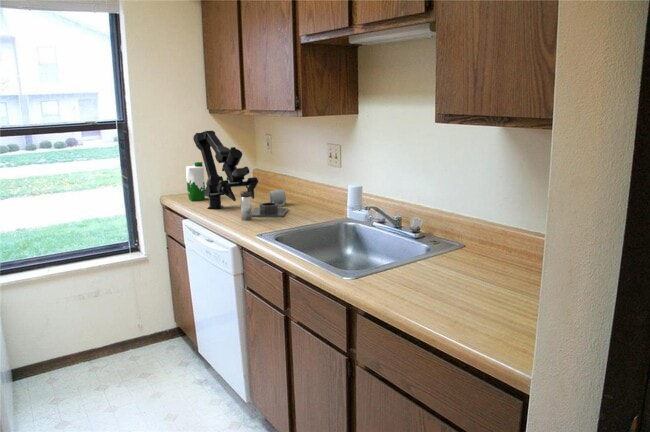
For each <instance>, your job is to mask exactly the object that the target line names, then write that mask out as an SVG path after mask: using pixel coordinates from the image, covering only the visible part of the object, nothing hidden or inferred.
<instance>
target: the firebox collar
mask: <svg viewBox="0 0 650 432" xmlns="http://www.w3.org/2000/svg"><path fill="white" fill-rule="evenodd" d="M288 211H289V208H288V207H278V204H277V203H268V202H262V203H260V204H259V207H255V209H253V210H251V217H252V218H284V217H285V215H287V213H288Z"/></svg>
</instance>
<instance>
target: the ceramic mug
mask: <svg viewBox="0 0 650 432" xmlns="http://www.w3.org/2000/svg"><path fill="white" fill-rule="evenodd" d="M266 195H267V198H266V199H267V203H277V204H278V208H284V206H285V204H286V202H287V198H286V197H287V195H286V192H285V190H284V188H283V189H282V188H281V189H277V190H276V189H275V190H271V191H268V192H267V194H266Z"/></svg>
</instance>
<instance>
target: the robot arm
mask: <svg viewBox="0 0 650 432" xmlns="http://www.w3.org/2000/svg"><path fill="white" fill-rule="evenodd" d="M192 140H193V142H194V144H195V146H196V148H197V149H198V150H200V152H201V157H202V159H203V163H204V167H205V168H204V169H205V170H206V171H205V172H206V175H207V180H206V186H205V191H204V193H205V197H208V204H209V206H208V207H207V209H209V210H210V209H211V210H212V209H213V210H218V209H222V208H223V207H224V205H222V197H221V196H226V197H227V198H229V199H230V200H232V201H233V202H236V201H237V199H236V197H235V194H234V193H233V190H232V188H241V187H246V191H250V193H251V199H252V200H254V199H255V189H256V187H257V185H258V183H259V179H258V177H256V176H253V177H251V176H250V177H248V178H247V180H245V176H247V175H249V173H250V168H249V166H244V167H239V168H237V167H238V165H239V164H240V161H241V160H242V157H243V152H242V151H241V150H240V149H239V148H236V147H234V146H232V147H230V148H229V147H226V146H224V145H223V143H222V142H221V140H220V139H219V137H218V136H217V135H216V132H215V131H214V130H204V131H202V132H195V134H194V135H193V139H192ZM211 148H212V149H211ZM212 150H213V151H214V153H215V155H214V157H215V160H216V161H217V163H218V164H223V165H222V168H221V171H222V172H224V173H225V175H226V179H224V177H223V176H221V175H220V174H218V170H217V167H216V163H215V160H214V157H213V152H212ZM244 180H245V181H244Z"/></svg>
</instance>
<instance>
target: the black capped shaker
mask: <svg viewBox="0 0 650 432" xmlns="http://www.w3.org/2000/svg"><path fill="white" fill-rule="evenodd" d="M239 195H240V211H241V213H240V214H241V220H242V221H251V220H253V219H252V218H253V217H251V212H252V197H251V193H250V191H247V190H245V191H244V190H243V191H240V194H239Z"/></svg>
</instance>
